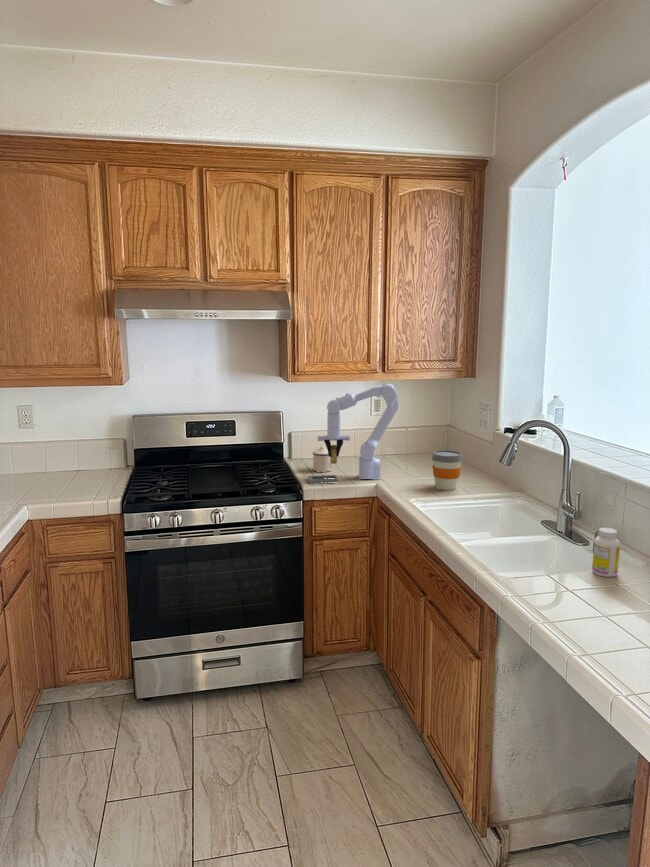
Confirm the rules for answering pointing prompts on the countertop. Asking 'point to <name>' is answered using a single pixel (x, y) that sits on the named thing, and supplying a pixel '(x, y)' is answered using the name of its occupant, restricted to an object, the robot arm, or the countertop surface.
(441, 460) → the reusable coffee cup
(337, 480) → the keyhole plate
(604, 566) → the supplement bottle
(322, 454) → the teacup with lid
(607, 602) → the countertop surface
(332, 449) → the peg
